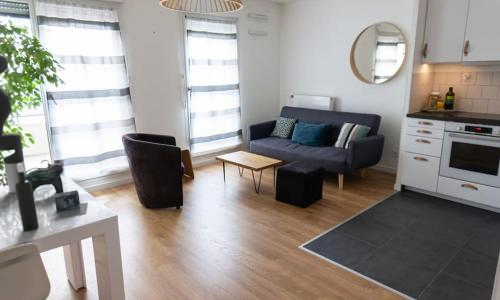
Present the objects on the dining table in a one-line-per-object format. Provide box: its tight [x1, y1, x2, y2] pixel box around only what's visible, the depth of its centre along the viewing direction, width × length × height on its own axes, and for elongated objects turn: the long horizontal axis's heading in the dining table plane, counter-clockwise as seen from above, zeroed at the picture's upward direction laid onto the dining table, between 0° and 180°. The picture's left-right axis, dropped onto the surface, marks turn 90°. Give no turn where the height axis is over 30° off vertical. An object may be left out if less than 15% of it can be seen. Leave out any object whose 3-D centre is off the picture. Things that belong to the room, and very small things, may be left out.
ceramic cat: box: [25, 159, 64, 196], centre depth 180 cm, size 20×6×20 cm, turn 136°
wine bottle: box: [15, 163, 40, 232], centre depth 143 cm, size 6×6×30 cm
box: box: [53, 189, 81, 213], centre depth 165 cm, size 8×6×11 cm
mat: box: [57, 202, 89, 219], centre depth 165 cm, size 14×12×1 cm
